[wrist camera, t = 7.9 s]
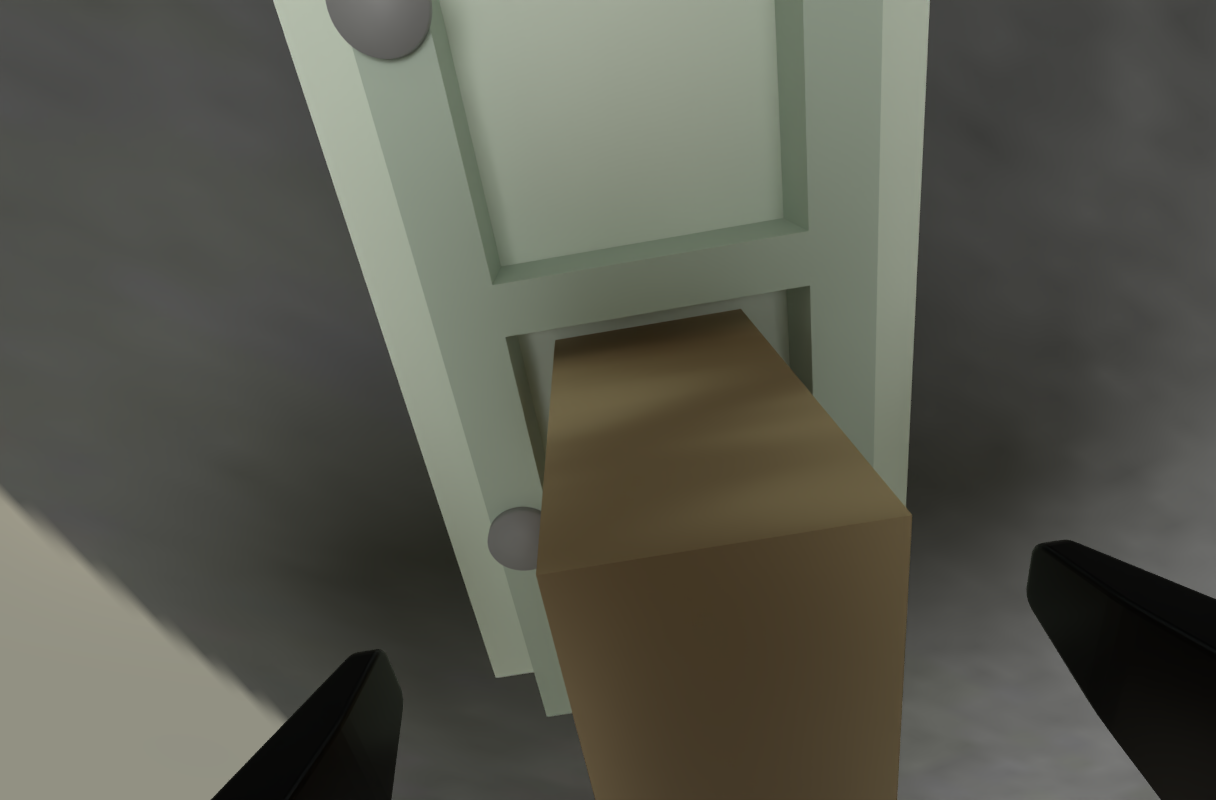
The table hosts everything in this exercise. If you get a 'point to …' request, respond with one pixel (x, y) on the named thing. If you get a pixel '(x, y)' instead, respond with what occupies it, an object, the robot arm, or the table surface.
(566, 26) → the rail board
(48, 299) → the table surface
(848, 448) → the tan rectangular box
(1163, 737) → the robot arm
